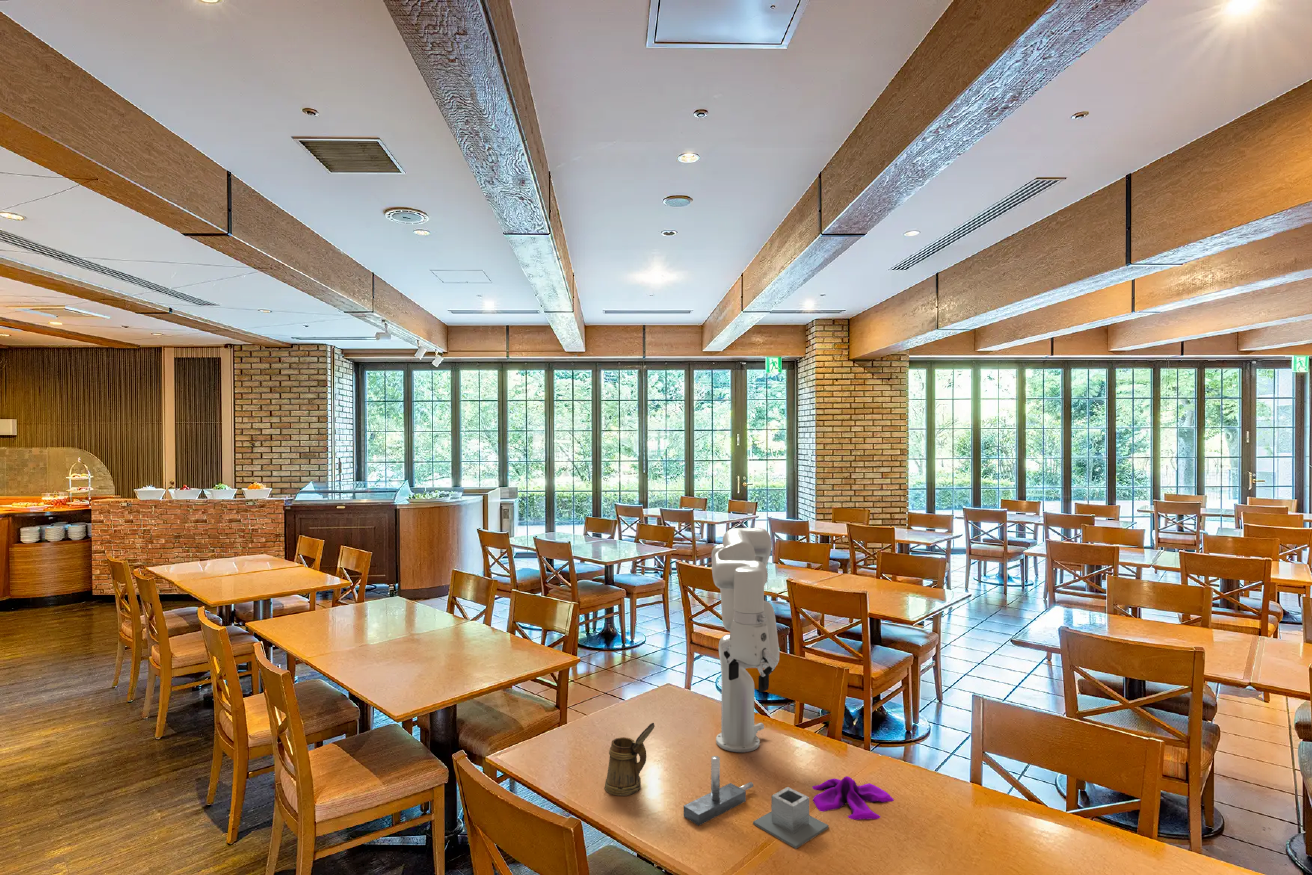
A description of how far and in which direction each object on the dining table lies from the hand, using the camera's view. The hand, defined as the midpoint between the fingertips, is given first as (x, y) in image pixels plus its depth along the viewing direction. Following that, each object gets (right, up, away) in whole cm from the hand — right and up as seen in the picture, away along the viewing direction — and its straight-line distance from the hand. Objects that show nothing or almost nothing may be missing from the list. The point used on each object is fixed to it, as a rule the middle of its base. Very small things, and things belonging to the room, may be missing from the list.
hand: (748, 684), depth 162 cm
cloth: (+23, -27, -3) cm, 36 cm away
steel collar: (+7, -26, -15) cm, 31 cm away
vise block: (-7, -26, -7) cm, 28 cm away
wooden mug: (-30, -27, 0) cm, 40 cm away
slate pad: (+7, -26, -15) cm, 31 cm away
